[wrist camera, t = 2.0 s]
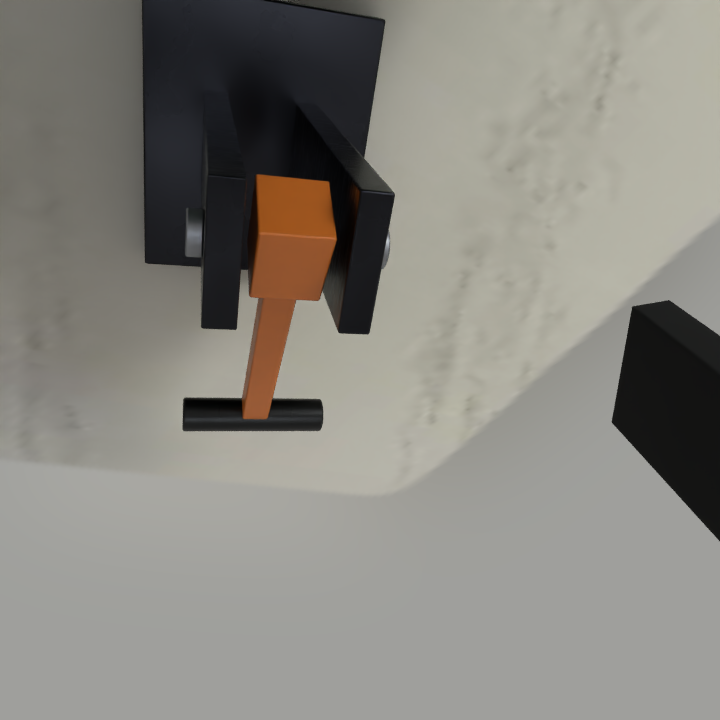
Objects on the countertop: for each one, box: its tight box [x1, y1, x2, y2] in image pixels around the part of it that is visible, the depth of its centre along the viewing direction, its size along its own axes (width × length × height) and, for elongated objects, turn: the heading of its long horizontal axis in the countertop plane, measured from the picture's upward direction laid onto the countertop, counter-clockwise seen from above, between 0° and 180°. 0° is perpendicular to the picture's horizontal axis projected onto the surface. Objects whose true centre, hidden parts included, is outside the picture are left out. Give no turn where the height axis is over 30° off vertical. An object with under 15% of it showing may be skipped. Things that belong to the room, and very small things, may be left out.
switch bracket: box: [142, 0, 395, 334], centre depth 24 cm, size 12×10×15 cm
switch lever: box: [183, 174, 337, 431], centre depth 23 cm, size 13×6×2 cm, turn 171°
